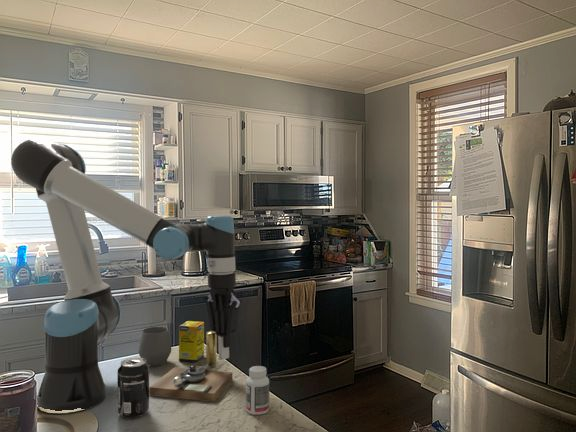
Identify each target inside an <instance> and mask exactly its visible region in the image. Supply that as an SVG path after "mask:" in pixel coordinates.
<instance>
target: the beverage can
mask: <svg viewBox="0 0 576 432" xmlns="http://www.w3.org/2000/svg"><path fill="white" fill-rule="evenodd" d="M149 387H150V366H148V365H147V364H146V359H144V358H141V357H129V358H126V359H123V360H122V361H120V366H119V367H118V368H117V413H118V415H119V416H120V417H123V418H124V419H129V420H131V419H138V418H141V417H143V416H144V415H145V414H146V413H147V412H149V410H150V395H149Z"/></svg>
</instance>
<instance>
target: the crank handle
mask: <svg viewBox="0 0 576 432" xmlns="http://www.w3.org/2000/svg"><path fill="white" fill-rule="evenodd" d="M205 337H206V339H205V341H206V342H205V343H206V346H205V348H206V351H205V352H206V355H205V356H206V358H205V359H206V365H203V366H201V365H195V364H191V365H189V367H187V369H186V371H183V372H182V373H181V374H180V377H175V378H174V379H173V384H174V385H175V387H178V388H179V387H180V386H182V385H184V384H185V383H197V382H201V381H203V380H204V379H205V372H206V371H208V370H210V371H211V370H212V369H216V368H217V359H218V358H217V356H218V355H217V352H218V351H217V346H218V345H217V335H216V332H214V331H213V332H212V330H209V331H206V336H205Z"/></svg>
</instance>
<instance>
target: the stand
mask: <svg viewBox="0 0 576 432" xmlns="http://www.w3.org/2000/svg"><path fill="white" fill-rule="evenodd" d="M187 368H188V367H187ZM187 368H186V367H176V366H175V367H173V368H171V369H170V370H169V371H168V372H167V373H166V374H164V375H163V376H162V377H160V378H159V379H158V380H157V381H155V382H154V383H153V384H151V385H149V396H155V397H156V396H157V397H163V398H164V397H166V398H175V399H184V400H194V401H204V402H211V403H212V402H215V401H216V400H217V399H218V398H219V396H220V395H221V394H222V393H223V391H225V390H226V388H227V387H228V386H229V384H230V383H231V382H232V381H233V372H231V371H230V372H229V371H221V370H211V369H210V370H208V371H206V372H205V379H204V380H203V381H201V382H197V383H185V384H184V385H182V386H180V387H179V388H178V387H175V385H174V384H173V379H174V378H175V377H180V374H181V373H182V372H183V371H186V369H187Z"/></svg>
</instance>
